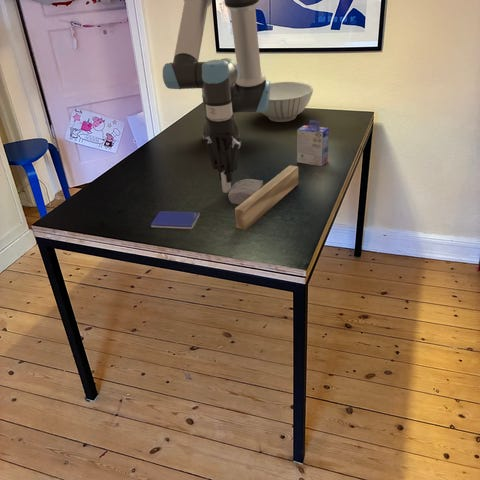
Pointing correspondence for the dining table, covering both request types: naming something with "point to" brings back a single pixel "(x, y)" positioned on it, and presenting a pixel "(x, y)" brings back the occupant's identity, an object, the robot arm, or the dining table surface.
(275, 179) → the oak board
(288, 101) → the decorative bowl
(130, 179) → the dining table surface
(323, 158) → the ink cartridge box
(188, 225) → the hard drive
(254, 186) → the stone block
